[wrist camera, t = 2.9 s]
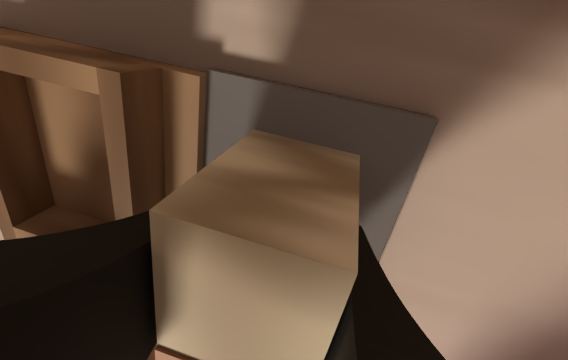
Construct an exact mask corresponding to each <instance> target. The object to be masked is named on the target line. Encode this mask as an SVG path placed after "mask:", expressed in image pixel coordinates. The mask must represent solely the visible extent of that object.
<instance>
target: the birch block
mask: <svg viewBox="0 0 568 360" xmlns="http://www.w3.org/2000/svg"><path fill="white" fill-rule="evenodd" d="M359 180H360V155H357V154H353V153H349V152H345V151H341V150H337V149H332V148H328V147H324V146H320V145H316V144H312V143H308V142H304V141H300V140H296V139H292V138H288V137H284V136H279V135H275V134H271V133H267V132H263V131H259V130H255V129H254V130H252V131H251V132H250V133H248V134H247V135H246V136H245V137H243V138H242V139H241V140H239V141H238V142H237V143H235V144H234V145H233V146H232V147H230V148H229V149H228V150H226V151H225V152H224V153H223V154H221V155H220V156H219V157H217V158H216V159H215V160H213V161H212V162H211V163H210V164H208V165H207V166H206V167H204V168H203V169H202V170H201V171H199V172H198V173H197V174H195V175H194V176H193V177H191V178H190V179H189V180H188V181H186V182H185V183H184V184H182V185H181V186H180V187H179V188H177V189H176V190H175V191H173V192H172V193H171V194H169V195H168V196H167V197H166V198H164V199H163V200H162V201H160V202H159V203H158V204H157V205H155V206H154V207H153V208H151V209H150V210H149V216H150V233H151V250H152V267H153V284H154V301H155V318H156V335H157V347H156V349H155V360H324V358H325V356H326V353H327V351H328V348H329V346H330V343H331V341H332V338H333V336H334V333H335V330H336V328H337V325H338V323H339V320H340V318H341V315H342V313H343V310H344V308H345V305H346V302H347V300H348V297H349V295H350V292H351V290H352V287H353V285H354V282H355V280H356V277H357V274H358V235H359Z"/></svg>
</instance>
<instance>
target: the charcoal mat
mask: <svg viewBox="0 0 568 360" xmlns="http://www.w3.org/2000/svg"><path fill="white" fill-rule="evenodd" d="M437 122H438V119H437V118H436V117H434V116H429V115H424V114H420V113H415V112H411V111H406V110H402V109H397V108H392V107H388V106H383V105H379V104H374V103H369V102H365V101H360V100H356V99H351V98H347V97H342V96H337V95H333V94H328V93H324V92H319V91H314V90H310V89H305V88H301V87H296V86H291V85H287V84H282V83H278V82H273V81H269V80H264V79H259V78H255V77H250V76H246V75H241V74H236V73H232V72H227V71H223V70H218V69H214V68H213V69H207V81H206V105H205V129H204V153H203V168H204V167H206V166H207V165H208V164H210V163H211V162H212V161H213V160H215V159H216V158H217V157H219V156H220V155H221V154H223V153H224V152H225V151H226V150H228V149H229V148H230V147H232V146H233V145H234V144H235V143H237V142H238V141H239V140H241V139H242V138H243V137H245V136H246V135H247V134H248V133H250V132H251V131H252V130H254V129H255V130H259V131H263V132H267V133H271V134H275V135H279V136H284V137H288V138H292V139H296V140H300V141H304V142H308V143H312V144H316V145H320V146H324V147H328V148H332V149H337V150H341V151H345V152H349V153H353V154H357V155H360V180H359V225H360V226H362V228H363V230H364V232H365V234H366V237H367V239H368V241H369V243H370V246H371V248H372V250H373V252H374V254H375V256H376V258H377V260H378V261H379V258H380V256H381V254H382V251H383V249H384V247H385V244H386V242H387V240H388V237H389V235H390V233H391V230H392V228H393V226H394V223H395V221H396V219H397V216H398V214H399V212H400V209H401V207H402V205H403V202H404V200H405V197H406V195H407V193H408V190H409V188H410V186H411V183H412V181H413V179H414V176H415V174H416V172H417V169H418V167H419V165H420V162H421V160H422V158H423V155H424V153H425V151H426V148H427V146H428V144H429V141H430V139H431V137H432V134H433V132H434V130H435V127H436V125H437Z"/></svg>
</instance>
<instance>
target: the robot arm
mask: <svg viewBox="0 0 568 360" xmlns="http://www.w3.org/2000/svg"><path fill="white" fill-rule="evenodd" d="M156 343H157V335H156V318H155V301H154V284H153V267H152V250H151V233H150V216H149V210H148V211H146V212H143V213H140V214H136V215H133V216H130V217H126V218H123V219H119V220H115V221H111V222H107V223H103V224H99V225H95V226H90V227H84V228H79V229H74V230H69V231H64V232H59V233H53V234H46V235H40V236H33V237H26V238H17V239H9V240H1V241H0V360H147V359H148V357H149V355H150V354H151V352H152V350H153V348H154V347H155V345H156ZM324 360H446V359H445V358H444V357H443V356H442V355H441V353H440V352H439V351H438V350H437V349H436V347H435V346H434V345H433V344H432V343H431V341H430V340H429V339H428V338H427V336H426V335H425V334H424V332H423V331H422V330H421V329H420V327H419V326H418V324H417V323H416V322H415V320H414V319H413V317H412V316H411V315H410V313H409V312H408V311H407V309H406V308H405V306H404V305H403V303H402V302H401V300H400V299H399V297H398V296H397V294H396V292H395V291H394V289H393V287H392V286H391V284H390V282H389V281H388V279H387V277H386V275H385V273H384V271H383V270H382V268H381V266H380V264H379V262H378V260H377V258H376V256H375V254H374V252H373V250H372V248H371V246H370V243H369V241H368V239H367V237H366V234H365V232H364V230H363V228H362V226H360V225H359V235H358V274H357V277H356V280H355V282H354V285H353V287H352V290H351V292H350V295H349V297H348V300H347V302H346V305H345V308H344V310H343V313H342V315H341V318H340V320H339V323H338V325H337V328H336V330H335V333H334V336H333V338H332V341H331V343H330V346H329V348H328V351H327V353H326V356H325V358H324Z"/></svg>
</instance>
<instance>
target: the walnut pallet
mask: <svg viewBox="0 0 568 360" xmlns="http://www.w3.org/2000/svg"><path fill="white" fill-rule="evenodd" d="M206 81H207V73H206V72H201V71H197V70H192V69H188V68H183V67H179V66H174V65H170V64H165V63H161V62H156V61H152V60H147V59H143V58H138V57H134V56H129V55H125V54H120V53H115V52H111V51H106V50H102V49H97V48H93V47H88V46H84V45H79V44H75V43H70V42H66V41H61V40H57V39H52V38H48V37H43V36H39V35H34V34H30V33H25V32H20V31H16V30H11V29H7V28H2V27H0V229H1V231H2V234H3V237H4V240H9V239H17V238H26V237H33V236H40V235H46V234H53V233H59V232H64V231H69V230H74V229H79V228H84V227H90V226H95V225H99V224H103V223H107V222H111V221H115V220H119V219H123V218H126V217H130V216H133V215H136V214H140V213H143V212H146V211H148V210H150V209H151V208H153V207H154V206H155V205H157V204H158V203H159V202H160V201H162V200H163V199H164V198H166V197H167V196H168V195H169V194H171V193H172V192H173V191H175V190H176V189H177V188H179V187H180V186H181V185H182V184H184V183H185V182H186V181H188V180H189V179H190V178H191V177H193V176H194V175H195V174H197V173H198V172H199V171H201V170H202V169H203V153H204V129H205V105H206ZM156 347H157V343H156V345H155V347H154V348H153V350H152V352H151V354H150V355H149V357H148V359H147V360H155V349H156Z"/></svg>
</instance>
